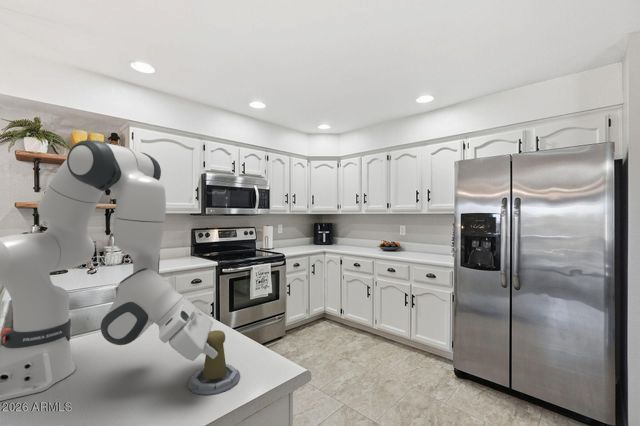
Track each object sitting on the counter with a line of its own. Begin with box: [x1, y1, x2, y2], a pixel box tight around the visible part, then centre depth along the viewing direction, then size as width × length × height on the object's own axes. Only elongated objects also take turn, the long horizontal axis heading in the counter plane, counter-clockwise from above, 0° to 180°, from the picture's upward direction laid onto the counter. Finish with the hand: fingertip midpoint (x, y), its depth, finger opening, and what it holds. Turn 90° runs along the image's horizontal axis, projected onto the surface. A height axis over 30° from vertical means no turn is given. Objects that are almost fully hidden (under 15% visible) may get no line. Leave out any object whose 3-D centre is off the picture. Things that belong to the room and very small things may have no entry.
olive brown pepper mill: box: [203, 329, 227, 379], centre depth 79 cm, size 6×6×11 cm
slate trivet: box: [187, 363, 241, 396], centre depth 79 cm, size 13×13×2 cm
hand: (217, 351), depth 79 cm, fingers closed on olive brown pepper mill, 4 cm apart
